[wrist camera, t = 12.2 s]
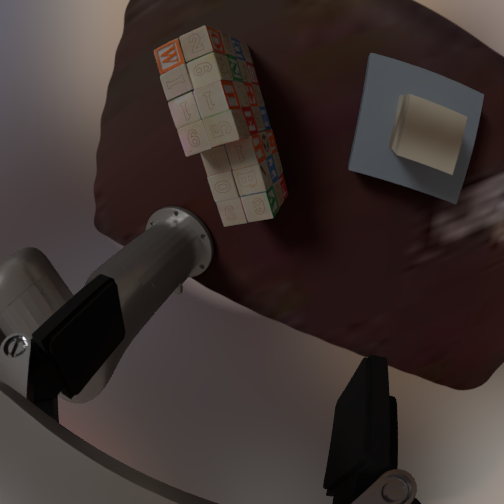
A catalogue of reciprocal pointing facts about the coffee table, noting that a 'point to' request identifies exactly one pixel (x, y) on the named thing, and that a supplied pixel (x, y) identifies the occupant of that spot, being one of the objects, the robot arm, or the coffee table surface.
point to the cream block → (427, 133)
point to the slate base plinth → (383, 116)
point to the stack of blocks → (224, 122)
